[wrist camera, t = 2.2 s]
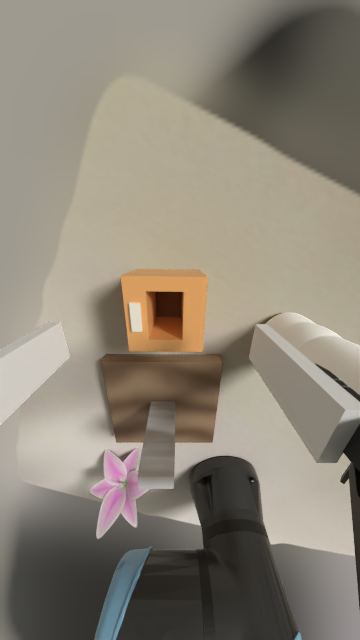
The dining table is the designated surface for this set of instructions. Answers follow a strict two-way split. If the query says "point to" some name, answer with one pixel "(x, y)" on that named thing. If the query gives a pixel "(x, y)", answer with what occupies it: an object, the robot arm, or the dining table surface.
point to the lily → (117, 491)
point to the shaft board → (163, 387)
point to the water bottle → (321, 346)
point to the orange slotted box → (164, 331)
